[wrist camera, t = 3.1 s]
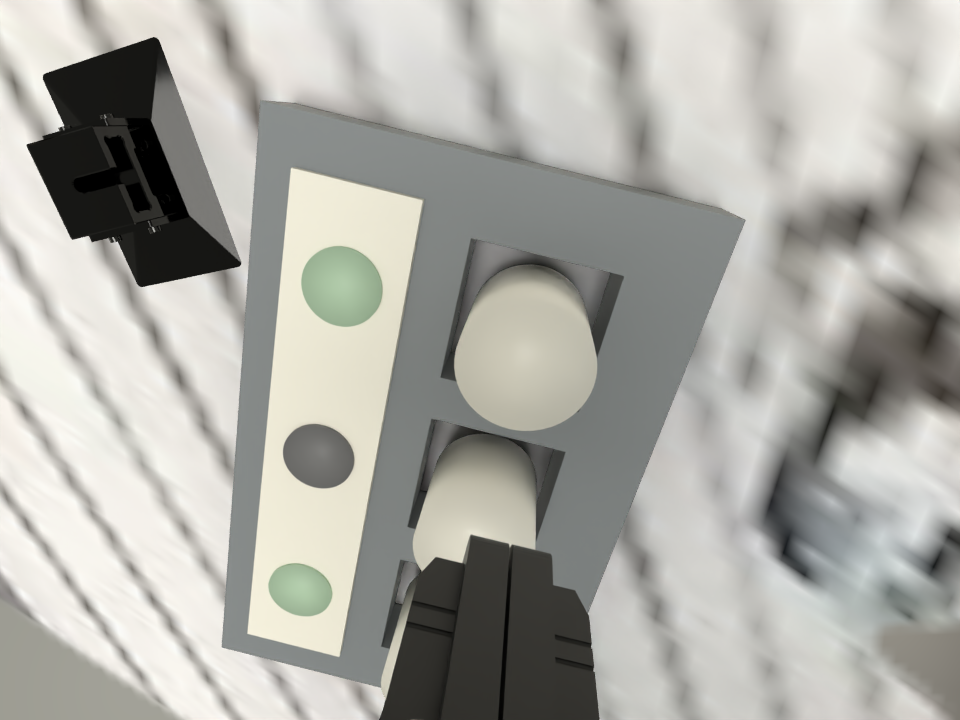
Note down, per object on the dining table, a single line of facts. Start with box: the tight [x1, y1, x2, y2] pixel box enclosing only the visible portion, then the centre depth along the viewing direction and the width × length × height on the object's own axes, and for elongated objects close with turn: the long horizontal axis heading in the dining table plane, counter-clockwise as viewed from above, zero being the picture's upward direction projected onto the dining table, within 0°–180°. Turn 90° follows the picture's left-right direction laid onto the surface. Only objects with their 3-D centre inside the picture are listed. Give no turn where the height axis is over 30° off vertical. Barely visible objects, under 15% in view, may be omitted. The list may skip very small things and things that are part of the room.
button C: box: [454, 265, 597, 431], centre depth 22 cm, size 5×5×5 cm
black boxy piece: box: [27, 37, 241, 287], centre depth 24 cm, size 12×7×5 cm, turn 13°
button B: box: [413, 434, 537, 571], centre depth 25 cm, size 5×5×5 cm
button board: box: [222, 100, 745, 687], centre depth 28 cm, size 18×28×3 cm, turn 167°
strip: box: [247, 167, 425, 657], centre depth 26 cm, size 5×24×1 cm, turn 167°
